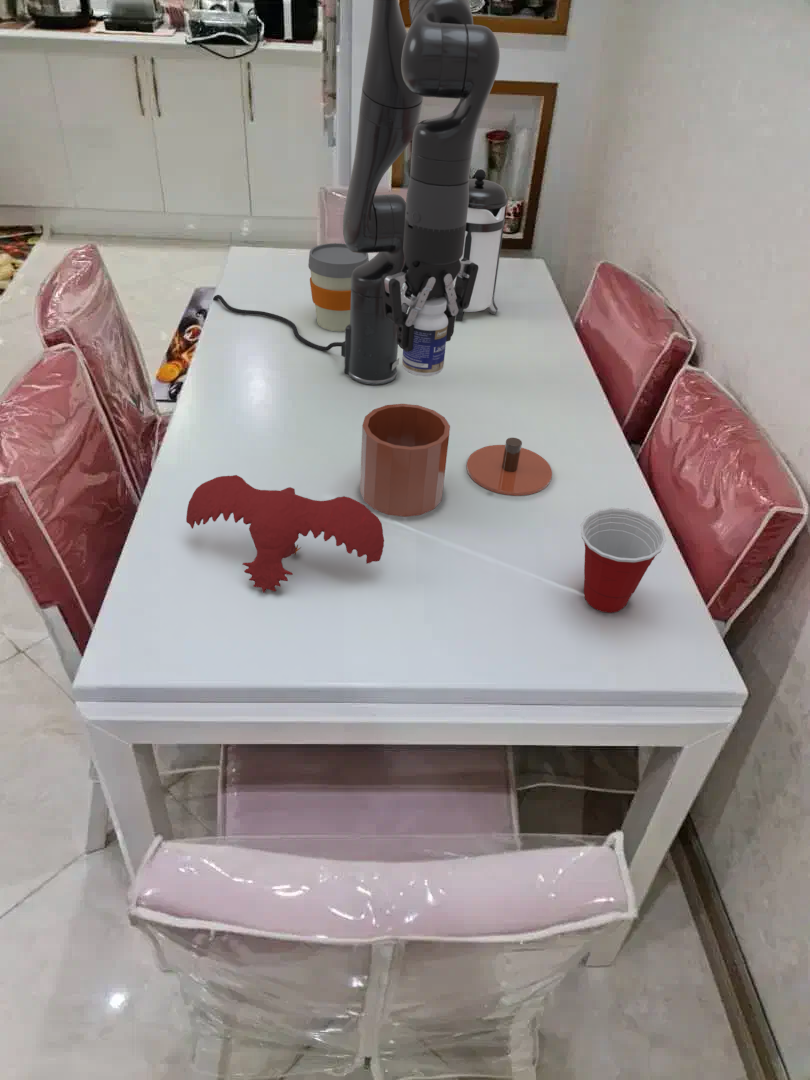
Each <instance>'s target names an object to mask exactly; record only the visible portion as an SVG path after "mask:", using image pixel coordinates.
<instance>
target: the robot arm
mask: <svg viewBox="0 0 810 1080" xmlns="http://www.w3.org/2000/svg"><path fill="white" fill-rule="evenodd" d="M372 2H373V4H372V14H371V15H372V17H371V26H370V33H369V41H368V42H369V43H368V47H367V54H366V61H365V68H364V74H363V81H362V88H361V95H360V101H359V102H360V103H359V111H358V112H359V113H358V114H359V115H358V124H357V133H356V144H355V151H354V159H353V164H352V171H351V174H350V178H349V179H350V180H349V183H348V188H347V192H346V197H345V203H344V209H343V216H342V235H343V241H344V244H346V246H347V247H348V249H349V250H351V251H352V252H356V253H368V254H371V253H377V254H376V255H375V256H374V257H373V258H371V259H369V261H368V262H366V263H364V264H362V265H360V266H358V267H357V268H355V269H354V271H353V272H352V275H351V305H350V324H349V325H348V326H346V329H345V331H344V333H345V334H344V335H345V336H344V341H334V342H331V343H329V344H328V345H327V346H323V345H319V344H316V343H314V342H311V341H309V340H308V339H306V338H304V337H303V336H302V335H300V332H299V331H298V328H297V325H296V324H295V323H294V322H293V321H291V320H290V319H288V318H286V317H283V316H280V315H279V314H274V313H271V312H267V311H261V310H252V309H242V308H241V309H240V308H237V307H233V306H231V305H229V303H227V301H226V300H225V299H224V297H223V296H222V295H221V294H216V295H214V297H213V298H212V300H213V301H217V300H219V301H220V303H221V304H222V306H224V308H226V309H227V310H228V311H230V312H232V313H236V314H243V315H256V316H263V317H267V318H271V319H275V320H277V321H281V322H283V323H285V324H286V325H288V326H290V327H291V328H292V330H293V334H294V336H295V337H296V339H297V340H299V341H300V342H301V343H303V344H304V345H306V346H308V347H309V348H312V349H315V350H318V351H324V352H327V351H330V350H331V349H333V348H335V347H340V349H341V350H340V351H341V352H340V354H341V355H340V356H341V357H344V374H346V375H349V377H350V378H351V379H352V380H354V381H355V382H358V383H360V384H365V385H383V384H388V383H391V382H392V381H394V380H395V379H396V377H397V374H398V370H397V369H398V366H399V364H400V357H398V353H399V352H398V351H399V348H400V349H402V351H403V350H404V351H406V352H408V351H412V348H413V335H414V325H412V324H413V322H414V320H415V318H416V315H417V313H418V311H421V310H422V308H423V306H424V304H425V301H427V300H430V299H431V298H440V297H444V298H445V299H446V300H447V305H446V310H445V311H444V314H445V315H446V316H447V318H448V329H447V338H446V343H447V342H450V341H451V339H452V337H453V335H454V332H455V331H454V330H455V325H456V324H455V323H456V315H457V313H458V311H459V310H460V309H462V308H463V309H466V308H468V306H469V304H470V300H471V296H472V292H473V288H474V284H475V280H476V276H477V272H478V265H477V264H475V263H473V262H471V261H469V260H468V259H466V258H463V259H462V260H461V261H460V260H459V259H460V258H461V257H462V255H463V248H464V239H465V230H466V222H467V213H468V204H469V179H470V174H471V167H472V159H473V158H472V156H473V150H474V143H475V138H476V135H477V132H478V131H477V130H478V127H479V124H480V120H481V117H482V114H483V111H484V109H485V106H486V103H487V102H488V98H489V96H490V94H491V91H492V88H493V86H494V83H495V80H496V78H497V74H498V70H499V67H500V66H499V65H500V59H501V57H500V47H499V46H500V45H499V42H498V39H497V36H496V35H495V34H494V32H493V30H491V28H489V27H487V26H485V25H481V24H474V17H473V13H472V9H471V5H470V0H408V11H409V19H410V24H411V25H410V26H409V28H408V30H407V29H406V25H405V22H404V20H403V19H404V18H403V15H402V11H401V7H400V1H399V0H373V1H372ZM424 98H437V99H438V98H439V99H459V102H458V103H457V105H456V106H455V107H454V109H453V110H452V111H450V112H449V113H448V114H445V115H441V116H437V117H432V118H427V119H424V120H421V121H420V117H421V112H422V106H423V101H424ZM410 142H411V155H410V171H409V172H410V173H409V181H408V184H407V185H408V186H407V191H406V196H405V197H406V199H405V198H404V197H403V196H402V195H399V194H396V193H393V194H390V193H389V194H376V192H377V190H378V187H379V185H380V182H381V181H382V179H383V177H384V176H385V174H386V173H387V172H388V170H389V169H390V168H391V166H392V165H393V164H394V163H395V162H396V161H397V160H398V158H399V157H400V156H401V155H402V154H403V152H404V151H405V150H406V148H407V147H408V146H409V144H410ZM456 276H457V278H456ZM455 278H456V282H455V286H453V281H454V279H455ZM404 284H405V285H404ZM403 285H404V287H403ZM462 291H463V295H462ZM412 295H414V296H415V297H417V298H416V300H413V299H412ZM461 295H462V296H461Z"/></svg>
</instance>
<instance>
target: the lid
mask: <svg viewBox="0 0 810 1080" xmlns="http://www.w3.org/2000/svg"><path fill="white" fill-rule="evenodd" d="M522 446H523V441H522V440H521V439H520V438H517V437H508V438H506V440H505V443H504V444H492V445H488V446H483V447H481V448H478V449H476V450H475V451H473V452H472V453H471V454H470V455H469V457H468V459H467V461H466V471H467V474H468V476H469V477H470V478H471V479H472V481H473V482H475V483H476V484H477V485H479V486H480V487H482V488H484V489H486V490H488V491H491V492H493V493H497V494H500V495H506V496H516V497H517V496H518V497H519V496H527V495H534V494H537V493H539V492H542V491H543V490H545V489H546V488H547V487H548V485H550V483H551V481H552V478H553V470H552V467H551V465H550V463H549V462H548V461H547V460H546V459H545V458H544V457H543V456H542V455H540V454H539V453H537V452H534V451H532V450H530V449H528V448H524V447H522Z"/></svg>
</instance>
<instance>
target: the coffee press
mask: <svg viewBox="0 0 810 1080" xmlns="http://www.w3.org/2000/svg"><path fill="white" fill-rule="evenodd" d="M474 177H475V178H469V204H468V213H467V222H466V230H465V239H464V248H463V255H462V257H461V258H460V259H459V260H460V261H461V260H462V259H463V258H466V259H468V260H469V261H471V262H473V263H475V264H477V265H478V272H477V276H476V280H475V284H474V288H473V292H472V296H471V300H470V304H469V306H468V308H466V309H463V308H462V309H460V310H459V311H458V313H457V315H455V321H459V322H462V321H463V319H464V316H465V315H464V314H465V312H466V313H476V312H482V311H484V310H487V311H488V312H489V313H490V315H492V316H495V315H496V314H497V313H498V310H499V308H498V306H497V305H496V302H495V296H496V295H495V294H496V287H497V280H498V273H499V272H498V271H499V265H500V258H501V251H502V245H503V244H502V243H503V236H504V235H503V234H504V229H505V228H504V227H505V221H506V215H505V213H506V207H507V205H508V203H509V197H508V195H507V192H506V189H505V188H504V187H503V185H500V183H497V182H495V181H493V180H488V179H486V177H487V173H486V171H485V170H484V169H480V168H479V169H478V170H476V172H475V173H474ZM456 278H457V276H456ZM456 278H455V279H454V281H453V286H455V282H456ZM462 295H463V291H462ZM462 295H461V296H462ZM491 305H493V308H494V309H495V311H493V310H492V309H491V308H490V306H491Z"/></svg>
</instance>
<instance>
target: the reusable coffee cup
mask: <svg viewBox="0 0 810 1080" xmlns="http://www.w3.org/2000/svg"><path fill="white" fill-rule="evenodd" d="M368 261H370V259H369V253H356V252H352V251H351V250H349V249H348V247H347V246H346V243H342V242H341V243H340V242H332V243H322V244H319V245H316V246H314V247H312V248H311V249H310V250H309V253H308V263H307V264H308V265H307V267H308V269H309V271H310V278H309V284H310V285H309V286H310V291H311V292H310V293H311V300H312V302H313V304H314V307H315V315H316V321H317V325H318V326H319V327H320V328H321V329H324V330H326V331H329V332H330V331H331V332H339V333H341V332H342V333H343V332H345V329H346V326H348V325H349V324H350V305H351V275H352V272H353V271H354V269H355V268H357V267H358V266H360V265H362V264H364V263H366V262H368Z"/></svg>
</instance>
